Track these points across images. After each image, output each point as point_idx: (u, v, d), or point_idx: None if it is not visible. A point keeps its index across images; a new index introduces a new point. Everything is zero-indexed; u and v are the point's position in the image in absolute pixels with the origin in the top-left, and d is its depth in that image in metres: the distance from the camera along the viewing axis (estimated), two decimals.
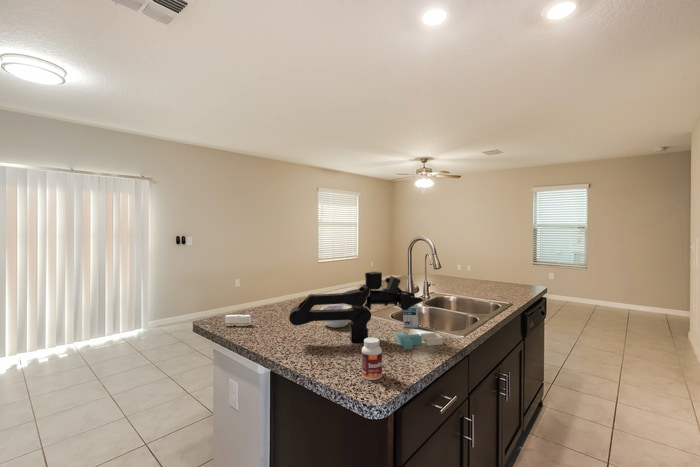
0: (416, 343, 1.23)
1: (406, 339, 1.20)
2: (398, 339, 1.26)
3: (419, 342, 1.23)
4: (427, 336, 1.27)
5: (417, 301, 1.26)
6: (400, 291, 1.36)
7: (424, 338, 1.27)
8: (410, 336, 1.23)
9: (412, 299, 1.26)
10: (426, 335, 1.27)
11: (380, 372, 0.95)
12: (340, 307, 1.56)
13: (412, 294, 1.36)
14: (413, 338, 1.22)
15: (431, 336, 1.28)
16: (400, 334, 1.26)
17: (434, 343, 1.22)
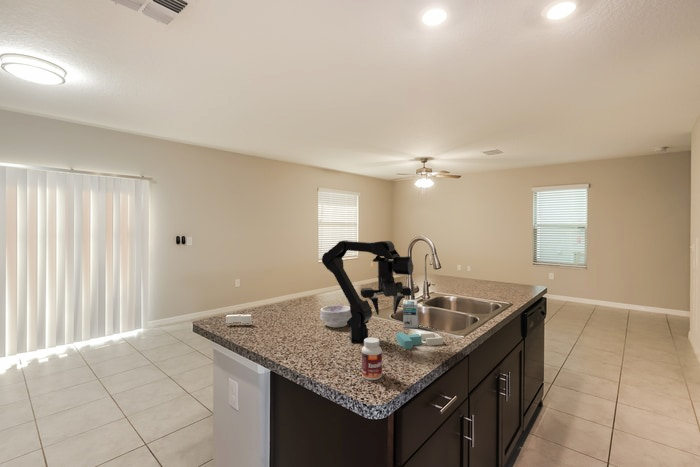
0: (416, 343, 1.23)
1: (406, 339, 1.20)
2: (398, 339, 1.26)
3: (419, 342, 1.23)
4: (427, 336, 1.27)
5: (375, 308, 1.22)
6: (396, 298, 1.21)
7: (424, 338, 1.27)
8: (410, 336, 1.23)
9: None
10: (426, 335, 1.27)
11: (380, 372, 0.95)
12: (340, 307, 1.56)
13: (394, 311, 1.23)
14: (413, 338, 1.22)
15: (431, 336, 1.28)
16: (400, 334, 1.26)
17: (434, 343, 1.22)
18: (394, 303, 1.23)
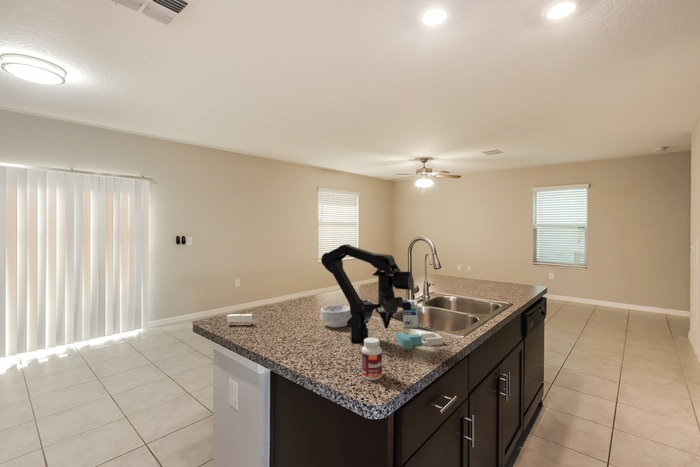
0: (416, 343, 1.23)
1: (406, 339, 1.20)
2: (398, 339, 1.26)
3: (419, 342, 1.23)
4: (427, 336, 1.27)
5: (383, 322, 1.23)
6: (388, 313, 1.21)
7: (424, 338, 1.27)
8: (410, 336, 1.23)
9: None
10: (426, 335, 1.27)
11: (380, 372, 0.95)
12: (340, 307, 1.56)
13: None
14: (413, 338, 1.22)
15: (431, 336, 1.28)
16: (400, 334, 1.26)
17: (434, 343, 1.22)
18: (386, 318, 1.23)
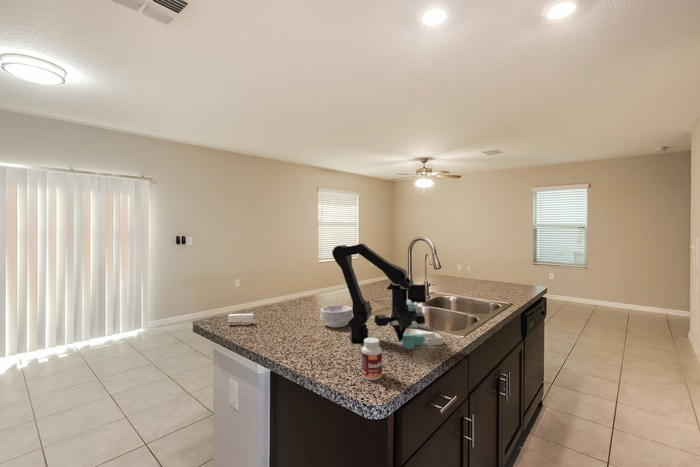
0: (418, 343, 1.23)
1: (408, 339, 1.20)
2: None
3: (421, 342, 1.23)
4: (427, 336, 1.27)
5: None
6: (401, 326, 1.22)
7: (424, 338, 1.27)
8: (412, 336, 1.23)
9: (396, 330, 1.22)
10: (426, 335, 1.27)
11: (380, 372, 0.95)
12: (340, 307, 1.56)
13: None
14: (415, 338, 1.22)
15: (431, 336, 1.28)
16: None
17: (434, 343, 1.22)
18: None
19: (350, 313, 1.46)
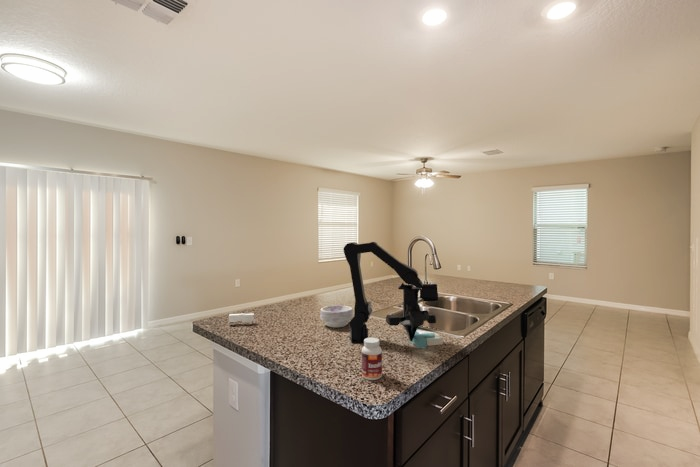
0: None
1: (420, 338, 1.21)
2: None
3: None
4: None
5: (408, 334, 1.24)
6: (413, 326, 1.23)
7: None
8: (424, 335, 1.24)
9: (407, 329, 1.23)
10: None
11: (380, 372, 0.95)
12: (340, 307, 1.56)
13: None
14: (427, 337, 1.23)
15: None
16: None
17: (434, 343, 1.22)
18: (411, 330, 1.24)
19: (350, 313, 1.46)
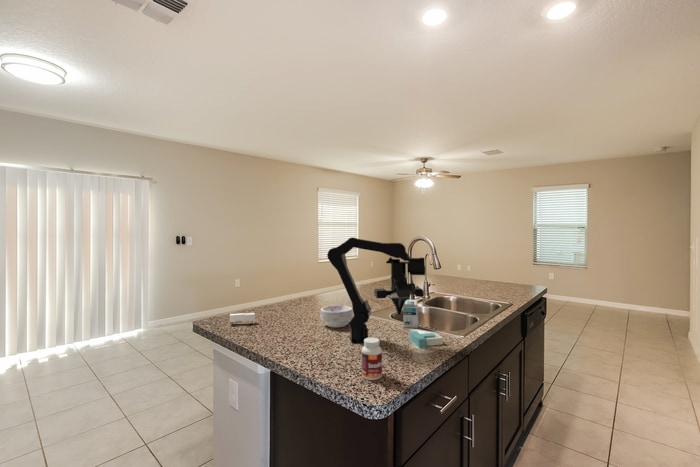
0: None
1: (420, 338, 1.21)
2: (412, 338, 1.27)
3: None
4: None
5: (395, 308, 1.25)
6: (401, 299, 1.24)
7: None
8: (424, 335, 1.24)
9: (395, 303, 1.24)
10: None
11: (380, 372, 0.95)
12: (340, 307, 1.56)
13: None
14: (427, 337, 1.23)
15: None
16: (414, 333, 1.27)
17: (434, 343, 1.22)
18: (399, 304, 1.26)
19: (350, 313, 1.46)
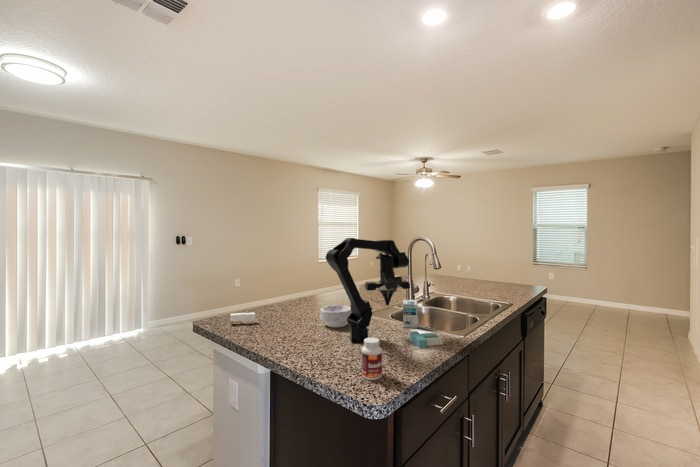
0: None
1: (420, 338, 1.21)
2: (412, 338, 1.27)
3: None
4: None
5: (384, 300, 1.37)
6: (389, 291, 1.35)
7: None
8: (424, 335, 1.24)
9: (384, 295, 1.36)
10: None
11: (380, 372, 0.95)
12: (340, 307, 1.56)
13: None
14: (427, 337, 1.23)
15: None
16: (414, 333, 1.27)
17: (434, 343, 1.22)
18: (387, 296, 1.37)
19: (350, 313, 1.46)
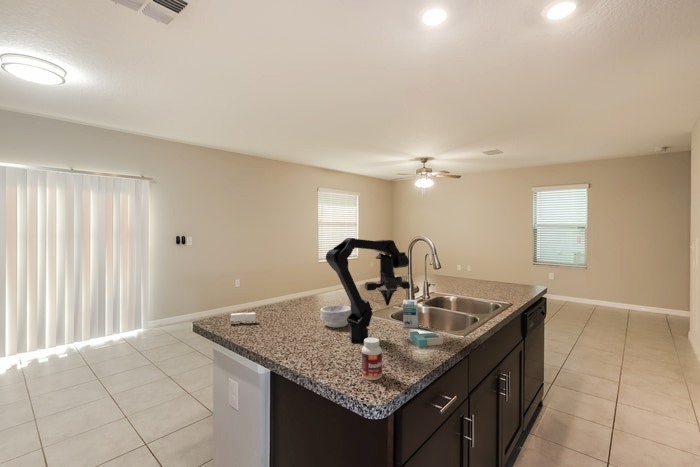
0: None
1: (420, 338, 1.21)
2: (412, 338, 1.27)
3: None
4: None
5: (384, 300, 1.37)
6: (389, 291, 1.35)
7: None
8: (424, 335, 1.24)
9: (384, 295, 1.36)
10: None
11: (380, 372, 0.95)
12: (340, 307, 1.56)
13: None
14: (427, 337, 1.23)
15: None
16: (414, 333, 1.27)
17: (434, 343, 1.22)
18: (387, 296, 1.37)
19: (350, 313, 1.46)
